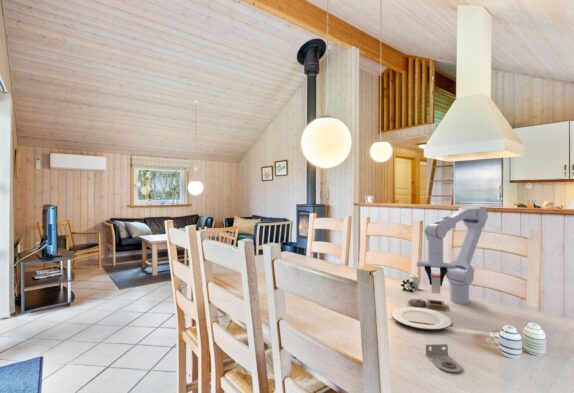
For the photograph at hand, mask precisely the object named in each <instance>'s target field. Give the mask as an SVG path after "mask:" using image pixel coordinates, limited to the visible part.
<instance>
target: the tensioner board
mask: <svg viewBox="0 0 574 393" xmlns="http://www.w3.org/2000/svg"><path fill="white" fill-rule="evenodd" d="M407 307H415V308H424V309H429V310H434V311H443V312H451V310H450V309H451V308H450V306H449V304H446V303H445V302H444V301H443V300H435V299H429V298H427V300H424V299H421V298H410V299H408V300H407Z"/></svg>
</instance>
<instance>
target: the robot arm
mask: <svg viewBox="0 0 574 393" xmlns="http://www.w3.org/2000/svg"><path fill="white" fill-rule="evenodd" d="M488 217H489V215H488V211H487V209H486V207H485V206H468V205H467V206H466V205H462V206H461V207H459V208H458V210H457V211H455V212H454V213H453V214H452V215H451V216H449V215H444V216H442V217H441V219H439V220H436V221H435V222H433V223H428V224H427V225H426V226H425V229H424V234H425V236H426V241H427V261H424V260H423V261H419V260H417V261H416V267H418V268H419V267H422V268H424V271H425V273H426V276H427V277H428V281H429V285H430V286H431V285H432V281H431V274H432V268H437V269H439V274H440V287H442V286H443V283H444V279H445V277H446V279H447V280H448V282H449V293H450V294H449V296H450V297H449V298H450V299H449V300H450V302H452V303H453V304H458V305H459V304H460V305H469V303H470V285H471V284H472V283H473V282H474V279H475V278H474V277H475V276H474V274H475V271H476V270H475V268H474V267H473V266H472V264H471V263H472V260H473V257H474V254H475V252H476V248H477V246H478V242H479V240H480V237H481V235H482V232H483V228H485V225H486V222H487V220H488ZM461 221H462V223H463V224H464V226H465V227H467V231H466V234H465V237H464V240H463V242H462V244H461V248H460V250H459V253H458V256H457V257H456V259H455V260H453V261H451V262H450V263H449V262H444V238H446V235H447V233H448V232H450V231H451V230H452V229H455V228H456V224H457V223H460V222H461Z"/></svg>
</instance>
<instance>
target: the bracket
mask: <svg viewBox="0 0 574 393" xmlns="http://www.w3.org/2000/svg"><path fill="white" fill-rule="evenodd" d="M448 347H449V346H448V344H447V343H445V344H443V343H441V344H440V343H437V344H425V356H429V355H431V356H449V352H448V351H449V348H448ZM430 348H431V349H430ZM443 348H445V349H443ZM440 358H441V359H438V360H437V359H436V358H435V359H434V358H432V359H433V360H430V361H431V362H432V363H433V364H434V365H435V366H436V367H437V368H438V369H440V370H442V371H445V372H447V373H448V372H449V373H460V372H462V371H463V367H462V366H463V365H461V364H459V363H458V362H457V361H456V360H454V359H453V358H452V357H448V358H446V357H445V358H444V357H440Z"/></svg>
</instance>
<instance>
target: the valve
mask: <svg viewBox="0 0 574 393" xmlns="http://www.w3.org/2000/svg"><path fill="white" fill-rule="evenodd" d="M419 278H420V276H419V275H417V274H412V275H410V279H411V280H410V279H406V280H404V279H403V280H402V283H401V284H400V286H401V287H403V288H402V291H407V292H410V293H411V292H412V293H414V290H419V289H420V286H419V285H420V279H419Z"/></svg>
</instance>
